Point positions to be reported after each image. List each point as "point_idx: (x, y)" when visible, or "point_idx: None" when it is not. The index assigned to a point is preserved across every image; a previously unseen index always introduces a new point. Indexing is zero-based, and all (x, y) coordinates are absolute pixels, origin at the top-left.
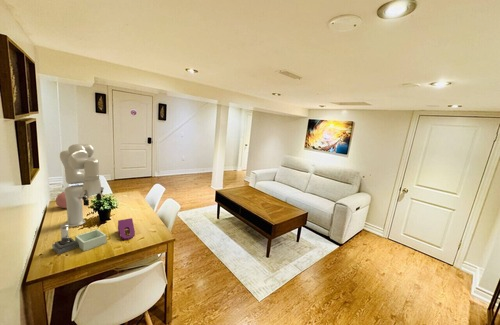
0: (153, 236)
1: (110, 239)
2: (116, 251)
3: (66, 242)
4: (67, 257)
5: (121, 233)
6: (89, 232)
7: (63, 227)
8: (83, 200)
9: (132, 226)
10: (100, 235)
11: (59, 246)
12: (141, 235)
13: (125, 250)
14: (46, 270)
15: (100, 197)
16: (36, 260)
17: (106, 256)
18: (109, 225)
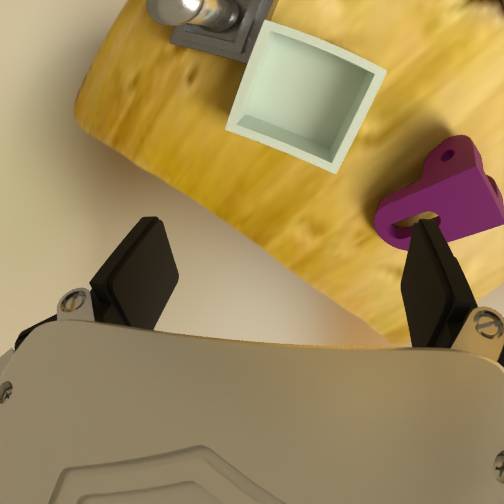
0: None
1: (367, 151)
2: (283, 241)
3: (208, 31)
4: (179, 97)
5: (393, 208)
6: (335, 55)
7: (156, 20)
8: (100, 268)
9: (450, 236)
10: (350, 115)
11: (175, 35)
12: None
13: (299, 265)
14: (108, 114)
15: (414, 334)
16: (125, 18)
17: (242, 229)
18: (494, 51)
